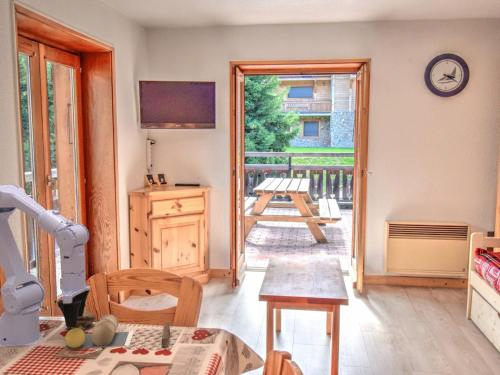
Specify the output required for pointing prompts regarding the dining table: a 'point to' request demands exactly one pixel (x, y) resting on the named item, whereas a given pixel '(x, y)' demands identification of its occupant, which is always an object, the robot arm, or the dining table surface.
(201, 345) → the dining table surface
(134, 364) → the dining table surface
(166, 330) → the end rail
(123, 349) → the dining table surface
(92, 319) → the mushroom
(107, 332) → the roller
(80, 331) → the ball
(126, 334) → the grey board
